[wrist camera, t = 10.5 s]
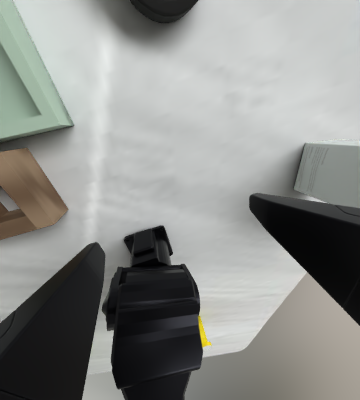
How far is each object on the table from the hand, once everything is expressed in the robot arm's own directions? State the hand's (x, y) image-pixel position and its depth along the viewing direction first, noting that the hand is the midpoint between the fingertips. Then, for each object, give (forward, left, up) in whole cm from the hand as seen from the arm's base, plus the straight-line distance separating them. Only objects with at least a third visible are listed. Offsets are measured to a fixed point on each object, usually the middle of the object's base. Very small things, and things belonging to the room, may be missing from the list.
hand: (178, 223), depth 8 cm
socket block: (+2, +17, -13) cm, 21 cm away
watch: (-41, +1, -13) cm, 43 cm away
